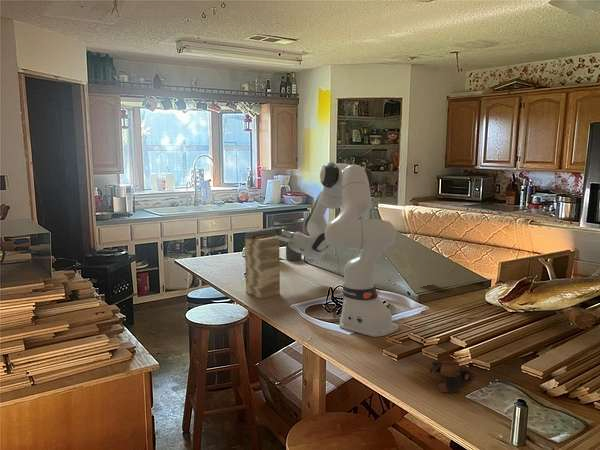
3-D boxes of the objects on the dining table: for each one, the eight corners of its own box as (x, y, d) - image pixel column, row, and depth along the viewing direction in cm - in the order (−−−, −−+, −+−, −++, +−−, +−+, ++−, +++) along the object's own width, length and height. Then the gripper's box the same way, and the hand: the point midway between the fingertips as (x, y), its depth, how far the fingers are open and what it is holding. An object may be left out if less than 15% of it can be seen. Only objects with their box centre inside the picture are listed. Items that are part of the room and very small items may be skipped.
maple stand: (279, 294, 215) (279, 234, 210) (261, 298, 208) (260, 237, 204) (264, 288, 224) (263, 231, 219) (246, 292, 218) (244, 233, 213)
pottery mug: (428, 393, 130) (425, 361, 133) (437, 393, 138) (433, 364, 141) (474, 391, 125) (470, 358, 128) (481, 392, 133) (476, 361, 136)
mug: (288, 261, 275) (288, 240, 273) (284, 257, 284) (283, 237, 282) (311, 259, 279) (311, 239, 277) (306, 256, 288) (306, 236, 286)
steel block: (287, 233, 219) (287, 227, 218) (248, 239, 206) (248, 232, 205) (283, 232, 221) (283, 226, 221) (244, 238, 208) (244, 231, 207)
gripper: (286, 232, 234) (266, 221, 225) (314, 238, 218) (293, 226, 210) (281, 244, 233) (260, 233, 224) (308, 251, 217) (288, 239, 209)
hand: (276, 230), depth 217 cm, fingers open, 7 cm apart
